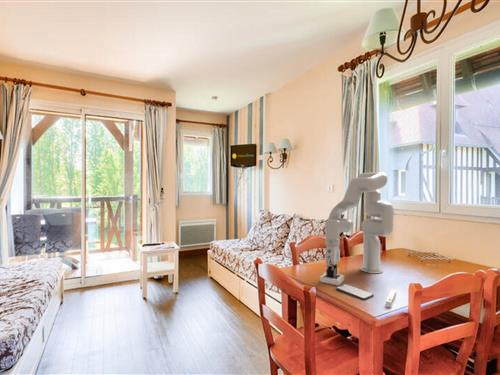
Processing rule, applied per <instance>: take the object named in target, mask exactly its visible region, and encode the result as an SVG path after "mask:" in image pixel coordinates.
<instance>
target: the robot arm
mask: <svg viewBox="0 0 500 375" xmlns="http://www.w3.org/2000/svg"><path fill="white" fill-rule="evenodd" d="M387 183H388V176H387V175H386V173H385V172H382V171H381V172H379V171H378V172H362V173H360V174H358V175H357V177H354V178H352V179H351V180H350V181H349V183H348V186H347V188H346V191H345V194H344V197H343V199H342V200H341V201H339V202H338V203H337V204H336V205H335V206H333V207H332V209H331V211H330V213H329V215H328V218H327V219H326V220H325V222H324V223H325V224H324V226H325V229H324V230H325V232H324V234H325V235H324V238H325V239H324V240H325V242H324V245H325V247H326V248H325V263H326V267H327V268H326V269H327V276H328V277H331V278H333V277H334V270H333V267H334V268H336V274H338V263H339V262H340V261H341V256H340V254H341V253H340V246H341V244H340V243H341V240H340V239H341V238H340V237H341V236H340V235H341V233H349V232H351V231H352V230H353V228H354V223H353V222H352V220H351V219H349V218H345V217H343V218H342V217H341V215H342V214H343V213H344V212H347V211H349V210H352V209H353V208H356V207H357V206H358V205H359V203H360V200H361V197H362V196H363V193H364V196H365V200H364V201H365V203H364V212H365V215H366V216H368V217H372V218H365V219H364V220H363V221H362V223H361V230H362V231H361V232H362V238H363V239H362V241H363V242H362V243H363V244H362V245H363V246H362V247H363V251H362V252H363V253H362V254H363V255H362V257H363V258H362V266H360V267H359V268H360V270H361V271H363V273H364V272H365V273H369V274H381V273H384V272H383V271H384V270H383V268H382V267H381V240H380V238H379V237H384V238H386V237H391V235H392V234H393V230H394V229H393V228H394V214H395V213H394V206H393V205H392V204H391V203H390V202H387V201H381V199H382V198H381V197H382V196H381V194H382V193H381V191H380V189H382V188H384V187H385V186H386V185H387ZM376 218H377V219H376ZM378 218H380V219H378Z"/></svg>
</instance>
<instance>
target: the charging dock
mask: <svg viewBox="0 0 500 375" xmlns="http://www.w3.org/2000/svg"><path fill="white" fill-rule="evenodd" d="M396 296H397V290H395V289H390V291H389V294H388V296H387V298H386V300H385V307H386V308H392V307H393V304H394V301H395V300H396Z"/></svg>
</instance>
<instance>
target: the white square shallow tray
mask: <svg viewBox="0 0 500 375" xmlns="http://www.w3.org/2000/svg"><path fill="white" fill-rule="evenodd" d="M344 281H345V274H341V273H337V279H333V278H328V277H326V272H324V273H323V274H322V275H320V276H319V283H322V284H326V285H331V286H334V287H335V286H336V287H338V286H341V285H342V284H343V283H344Z"/></svg>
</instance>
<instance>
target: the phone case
mask: <svg viewBox="0 0 500 375" xmlns="http://www.w3.org/2000/svg"><path fill="white" fill-rule="evenodd" d="M335 290H336V291H338V292H339V293H343V294H346V295H347V296H350V297H353V298H356V299H359V300H361V301H368V300H369V299H372V298H373V297H374V293H371V292H368V291H367V290H363V289H360V288H359V287H358V288H357V287H355V286H352V285H350V284H345V283H344V284H340V285H339V286H336V287H335Z"/></svg>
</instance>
